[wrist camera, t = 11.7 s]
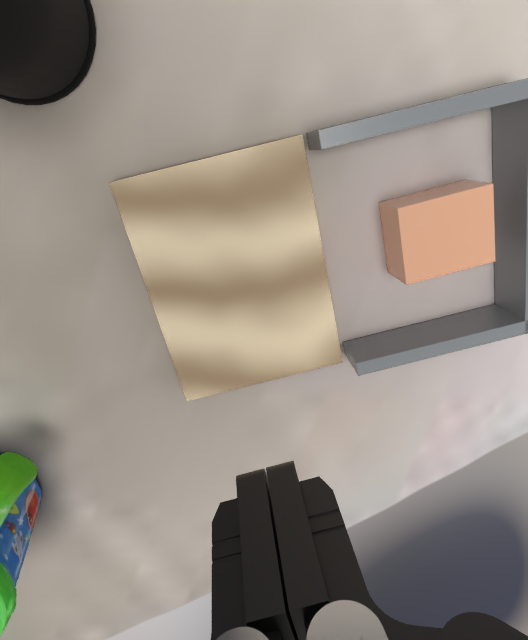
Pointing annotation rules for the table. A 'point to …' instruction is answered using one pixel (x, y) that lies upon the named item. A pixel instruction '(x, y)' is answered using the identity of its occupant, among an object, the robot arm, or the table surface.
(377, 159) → the table surface
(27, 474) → the snack cup
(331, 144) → the box
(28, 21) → the aerosol can
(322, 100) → the table surface
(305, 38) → the table surface
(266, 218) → the beige wooden board
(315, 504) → the robot arm
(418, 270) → the peach rectangular block
